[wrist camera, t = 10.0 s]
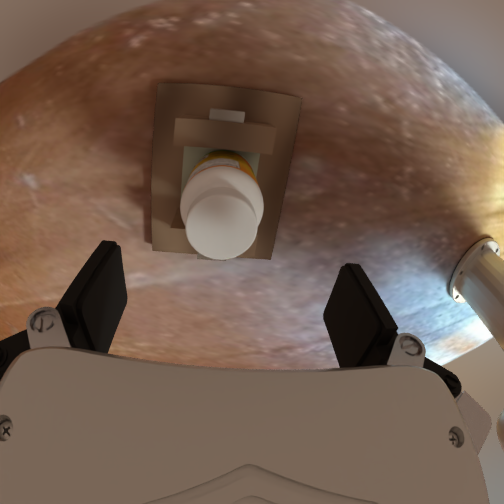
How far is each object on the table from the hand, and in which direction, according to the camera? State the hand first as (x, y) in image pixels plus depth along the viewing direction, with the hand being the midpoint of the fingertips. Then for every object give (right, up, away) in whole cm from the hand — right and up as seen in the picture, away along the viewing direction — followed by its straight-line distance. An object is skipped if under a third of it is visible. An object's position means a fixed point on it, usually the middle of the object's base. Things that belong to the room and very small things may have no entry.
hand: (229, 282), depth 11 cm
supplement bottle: (-2, +8, +12) cm, 14 cm away
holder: (-2, +8, +13) cm, 15 cm away
